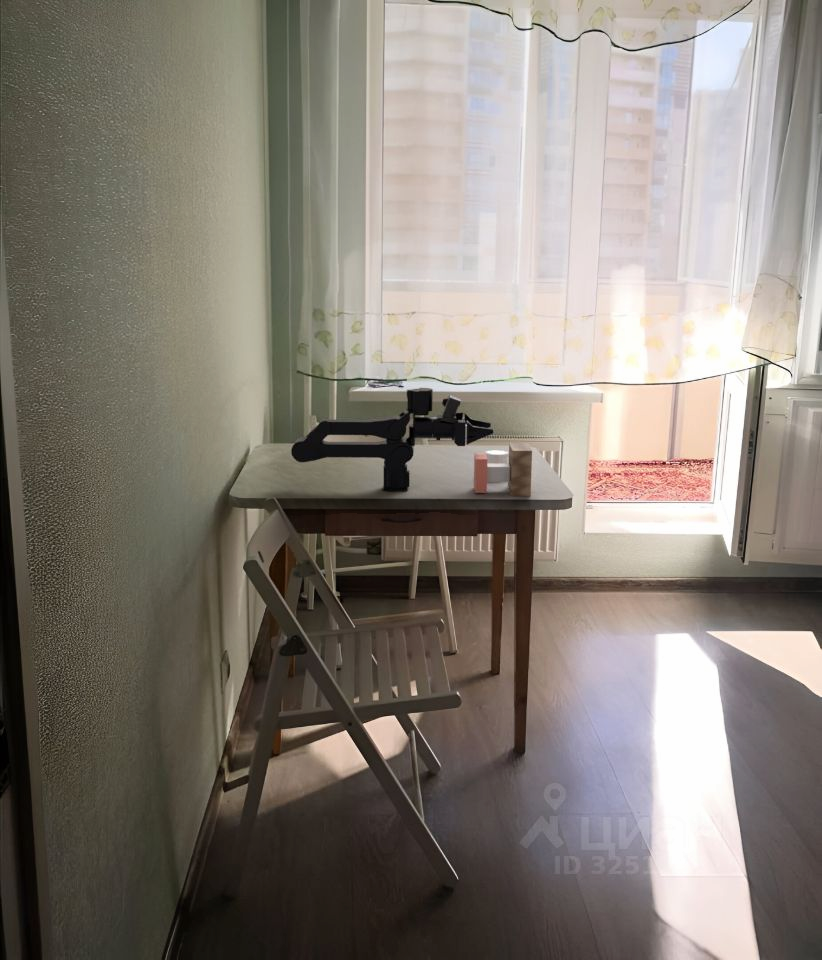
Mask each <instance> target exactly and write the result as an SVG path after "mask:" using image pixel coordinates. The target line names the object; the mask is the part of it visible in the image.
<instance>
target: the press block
mask: <svg viewBox="0 0 822 960" xmlns="http://www.w3.org/2000/svg"><path fill="white" fill-rule="evenodd" d="M508 452H509V455H508V464H509V466H510V480H509V482H507V487H509V488H508V491H509V490H510V491H509V494H510V493H511V494H510V496H511V497H531V494H532V465H533V462H532V461H533V449H532V448H531V446H530V444H529V443H528V442H509V443H508Z"/></svg>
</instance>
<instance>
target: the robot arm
mask: <svg viewBox="0 0 822 960" xmlns="http://www.w3.org/2000/svg"><path fill="white" fill-rule="evenodd" d="M433 391H434V389H433V388H430V387H419V388H412V389H406V397H407V398H406V399H407V404H406V405H407V408H406V409H404V410H403V411H402V412H401V413H400V414H393V415H388V416H382V417H378V418H375V419H330V418H322V419H321V420H320V422H319V423H318V424H317V425H316V426H315V427H313V429H312V430H310V432H309V433H308V434H306V436H301V437H299V438H297V440H295V441H294V443H293V445H292V447H291V450H290V452H291V456H292V458H293V459H294V460H295V461H296V462H298V463H308V462H314V461H318V460H319V461H320V460H322V459H326V458H361V459H363V458H365V459H367V458H372V459H373V458H374V459H377V458H379V459H381V460H383V485H382V491H384V492H406V491H408V489H409V488H410V470H408V464H407V463H408V462H409V461H411V459H413V457H414V454H415V453H414V451H415V445H416V440H417V439H420V440H421V439H435V440H436V441H441V440H442V439H444V440H448V439H449V440H452V441H454V444H455V445H456V446H457V447H465V446H468V445H469V444H472V443H474V442H477V441H478V440H480V439H483V438H486V437H488V436H492V435H493V433H494V429H493V428H491V427H492V425H491V424H492V423H491V422H487V421H483V420H479V419H475V418H472V417H470V416H469V415H468V413H467V412H465V411H463V410H458V409H459V407H460V405H461V402H462V399H461V398H459V397H456V396H455V395H451V394H448V397H443V399H442V402H441V404H442V406H443V407H444V408H443V411H442V414H437V415H436V416H429V414H430V413H429V412H432V411H434V410H433V404H434V402H433V398H434V397H433V395H434V394H433V393H434V392H433ZM411 414H412V423H411V424H409V423H410V421H411ZM408 424H409V425H408ZM407 426H408V427H407ZM407 428H408V435H407V436H406V434H407ZM328 436H373V437H378V438H381V439H385V440H382V441H326V440H324V439H326V438H327V437H328Z"/></svg>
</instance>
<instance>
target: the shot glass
mask: <svg viewBox="0 0 822 960" xmlns="http://www.w3.org/2000/svg"><path fill="white" fill-rule="evenodd" d="M484 453H486V456H487V464H509V451H507V450H503V449H490V450H489V449H488V450H485V451H484Z"/></svg>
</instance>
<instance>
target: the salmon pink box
mask: <svg viewBox="0 0 822 960" xmlns="http://www.w3.org/2000/svg"><path fill="white" fill-rule="evenodd" d="M473 456H474V459H473V460H474V461H473V489H474V493H475V494H487V493H488V492H487V489H488V488H487V487H488V482H489V483H508V482H509V480H510V466H509V463H507V464H487V456H486V453H485V452H484V453H482V452H481V453H478V452H477V453H476V452H475V453H473Z"/></svg>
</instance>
